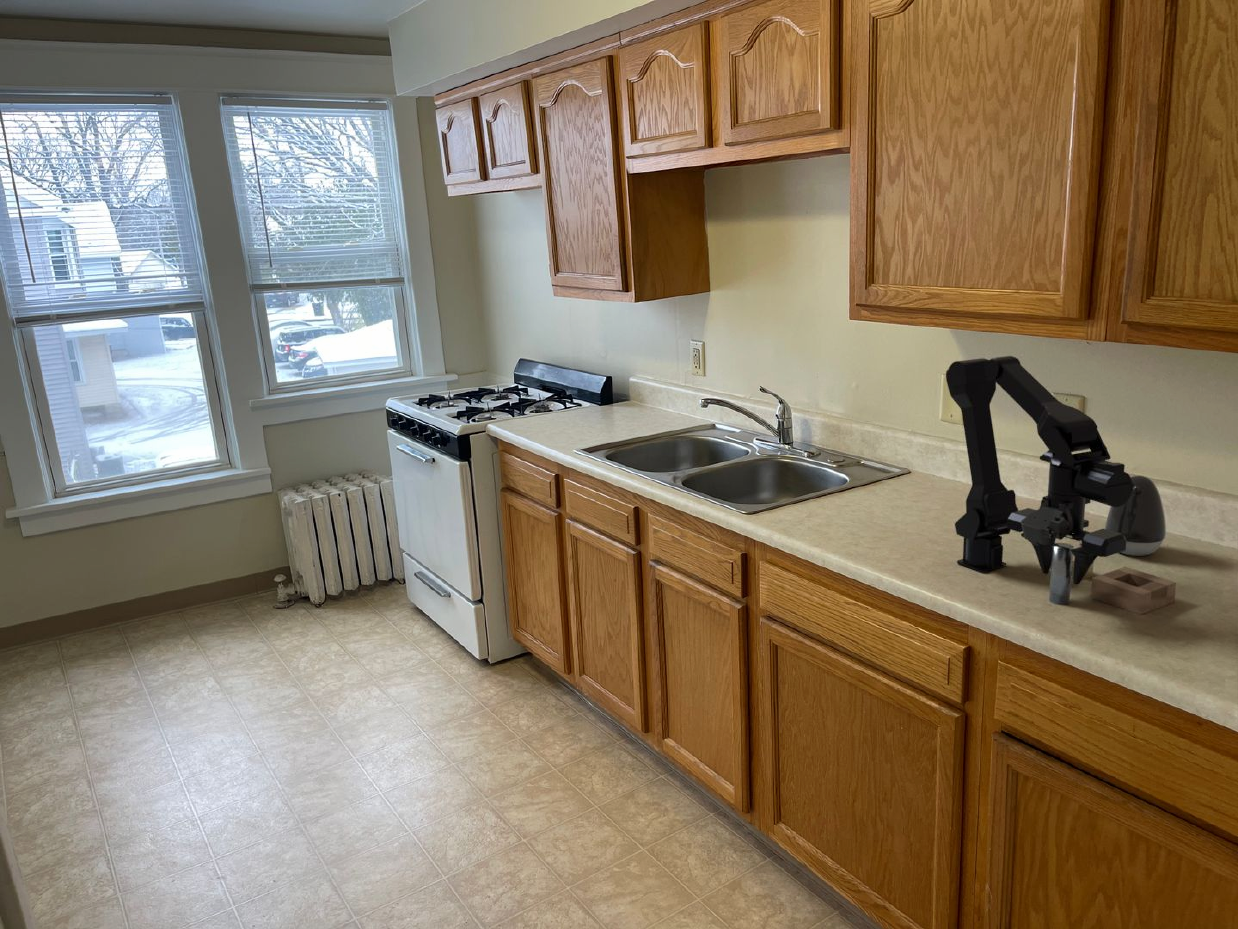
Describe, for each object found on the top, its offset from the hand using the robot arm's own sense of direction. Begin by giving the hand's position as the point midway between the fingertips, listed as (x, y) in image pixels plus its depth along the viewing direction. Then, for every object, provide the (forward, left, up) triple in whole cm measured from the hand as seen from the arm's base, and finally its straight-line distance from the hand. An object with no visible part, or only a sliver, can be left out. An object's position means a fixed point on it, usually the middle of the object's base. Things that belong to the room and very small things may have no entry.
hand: (1060, 578), depth 156 cm
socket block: (+7, +10, -4) cm, 13 cm away
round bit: (0, 0, -4) cm, 4 cm away
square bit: (-8, +13, -4) cm, 16 cm away
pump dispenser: (-7, +31, -4) cm, 32 cm away
